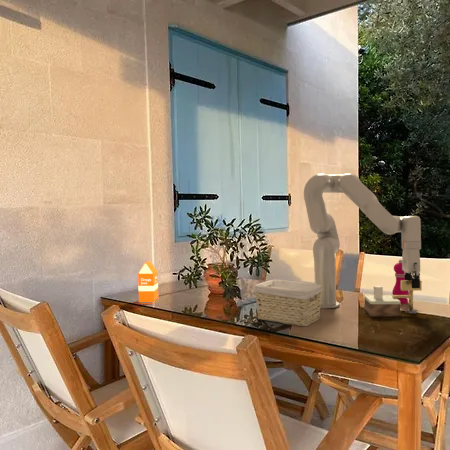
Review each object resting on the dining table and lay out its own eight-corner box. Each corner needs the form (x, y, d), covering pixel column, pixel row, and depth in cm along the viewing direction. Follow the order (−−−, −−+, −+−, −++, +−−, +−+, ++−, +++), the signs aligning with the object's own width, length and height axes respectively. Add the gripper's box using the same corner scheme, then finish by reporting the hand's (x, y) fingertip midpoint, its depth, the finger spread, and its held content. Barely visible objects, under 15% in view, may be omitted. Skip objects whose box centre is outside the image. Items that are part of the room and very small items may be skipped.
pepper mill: (410, 304, 210) (410, 260, 209) (393, 304, 212) (393, 260, 210) (407, 300, 217) (407, 258, 216) (391, 300, 219) (391, 258, 217)
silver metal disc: (407, 313, 194) (407, 311, 193) (404, 311, 198) (404, 309, 198) (418, 313, 193) (418, 311, 193) (414, 311, 197) (414, 309, 197)
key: (393, 310, 195) (393, 281, 194) (392, 309, 197) (392, 280, 196) (421, 310, 194) (421, 281, 193) (420, 309, 196) (420, 280, 195)
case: (370, 316, 191) (370, 304, 191) (363, 309, 203) (363, 297, 203) (401, 316, 190) (401, 304, 190) (392, 309, 202) (392, 297, 202)
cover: (370, 304, 191) (370, 289, 191) (364, 297, 203) (364, 283, 202) (400, 304, 190) (400, 289, 189) (392, 297, 202) (392, 283, 201)
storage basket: (324, 319, 188) (324, 283, 187) (306, 329, 175) (306, 290, 174) (273, 312, 202) (272, 278, 202) (253, 320, 189) (252, 284, 188)
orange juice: (158, 299, 233) (157, 260, 232) (154, 303, 225) (153, 262, 223) (143, 299, 234) (142, 260, 233) (138, 303, 225) (137, 262, 224)
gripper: (396, 243, 203) (397, 282, 204) (408, 247, 186) (409, 290, 186) (414, 243, 202) (414, 282, 203) (427, 247, 185) (428, 289, 186)
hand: (412, 285), depth 195 cm, fingers open, 9 cm apart
